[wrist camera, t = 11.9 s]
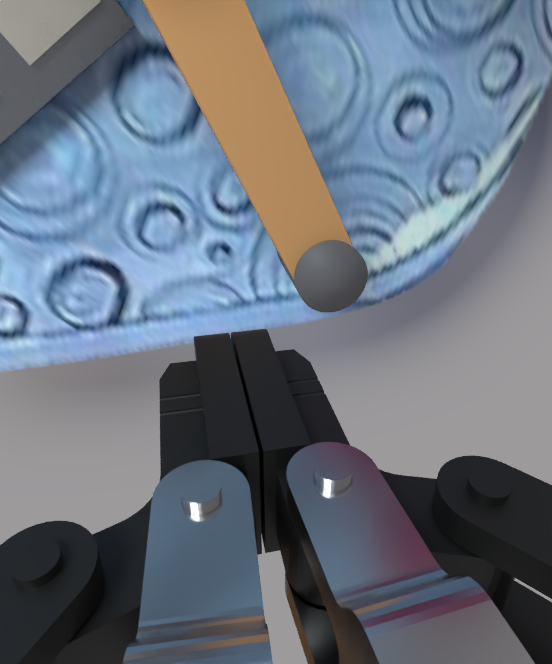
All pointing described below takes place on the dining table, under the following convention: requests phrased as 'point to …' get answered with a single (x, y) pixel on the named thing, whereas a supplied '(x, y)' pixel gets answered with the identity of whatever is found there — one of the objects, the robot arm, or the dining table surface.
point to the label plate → (50, 50)
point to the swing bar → (263, 144)
